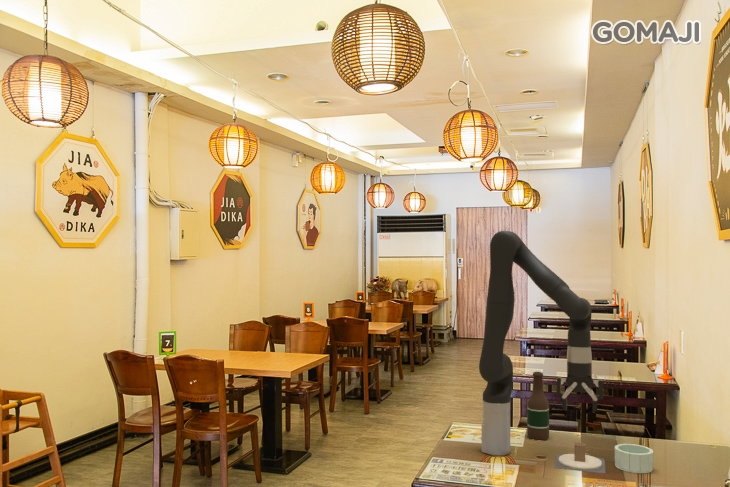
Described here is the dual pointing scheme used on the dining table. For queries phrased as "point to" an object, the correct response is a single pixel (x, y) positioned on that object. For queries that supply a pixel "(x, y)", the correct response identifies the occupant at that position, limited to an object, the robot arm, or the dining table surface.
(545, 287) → the robot arm
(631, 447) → the bowl
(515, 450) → the dining table surface
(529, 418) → the beer bottle
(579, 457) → the lid
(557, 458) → the mat
